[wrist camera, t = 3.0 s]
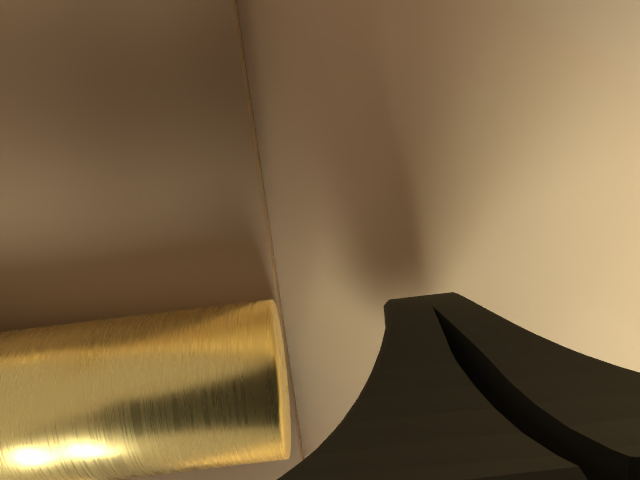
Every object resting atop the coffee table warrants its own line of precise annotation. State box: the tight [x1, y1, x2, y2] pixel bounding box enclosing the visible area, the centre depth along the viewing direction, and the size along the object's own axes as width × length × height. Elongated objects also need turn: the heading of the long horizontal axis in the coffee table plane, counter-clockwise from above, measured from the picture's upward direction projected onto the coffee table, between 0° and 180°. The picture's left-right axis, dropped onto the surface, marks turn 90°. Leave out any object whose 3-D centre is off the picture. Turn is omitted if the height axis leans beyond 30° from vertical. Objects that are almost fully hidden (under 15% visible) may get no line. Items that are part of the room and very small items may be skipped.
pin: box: [0, 299, 291, 480], centre depth 11 cm, size 10×3×3 cm, turn 96°
